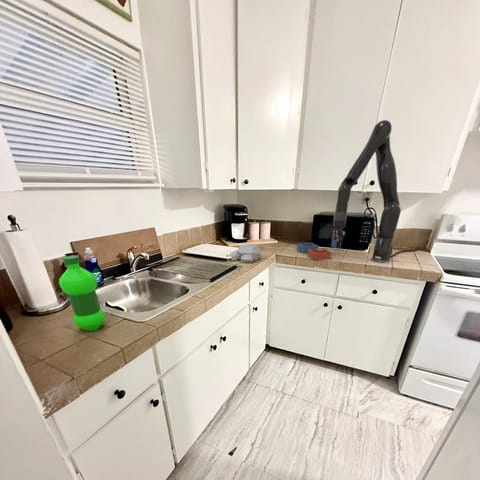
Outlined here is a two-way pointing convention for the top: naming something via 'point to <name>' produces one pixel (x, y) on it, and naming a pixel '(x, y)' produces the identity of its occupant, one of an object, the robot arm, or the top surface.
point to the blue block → (335, 243)
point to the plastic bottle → (82, 294)
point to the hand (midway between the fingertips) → (335, 246)
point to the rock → (246, 253)
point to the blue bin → (306, 247)
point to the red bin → (319, 254)
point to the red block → (319, 250)
